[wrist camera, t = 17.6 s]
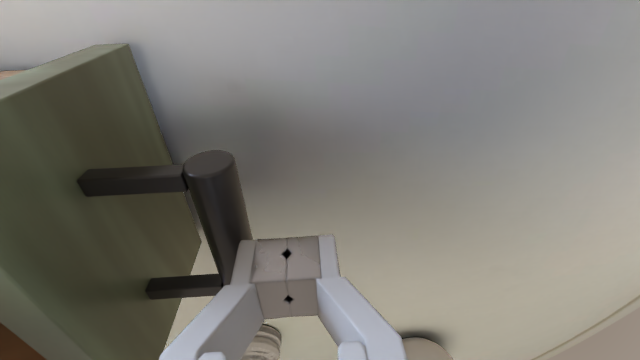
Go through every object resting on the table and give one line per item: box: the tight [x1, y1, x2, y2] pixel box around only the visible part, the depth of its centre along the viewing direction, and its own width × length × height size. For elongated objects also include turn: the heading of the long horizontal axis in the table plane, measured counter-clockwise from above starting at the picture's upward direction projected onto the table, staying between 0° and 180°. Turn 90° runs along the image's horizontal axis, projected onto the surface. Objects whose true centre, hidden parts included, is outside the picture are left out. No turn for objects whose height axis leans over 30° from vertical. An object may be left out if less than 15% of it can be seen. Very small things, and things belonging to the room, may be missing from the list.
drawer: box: [0, 44, 253, 360], centre depth 10 cm, size 17×10×8 cm, turn 91°
